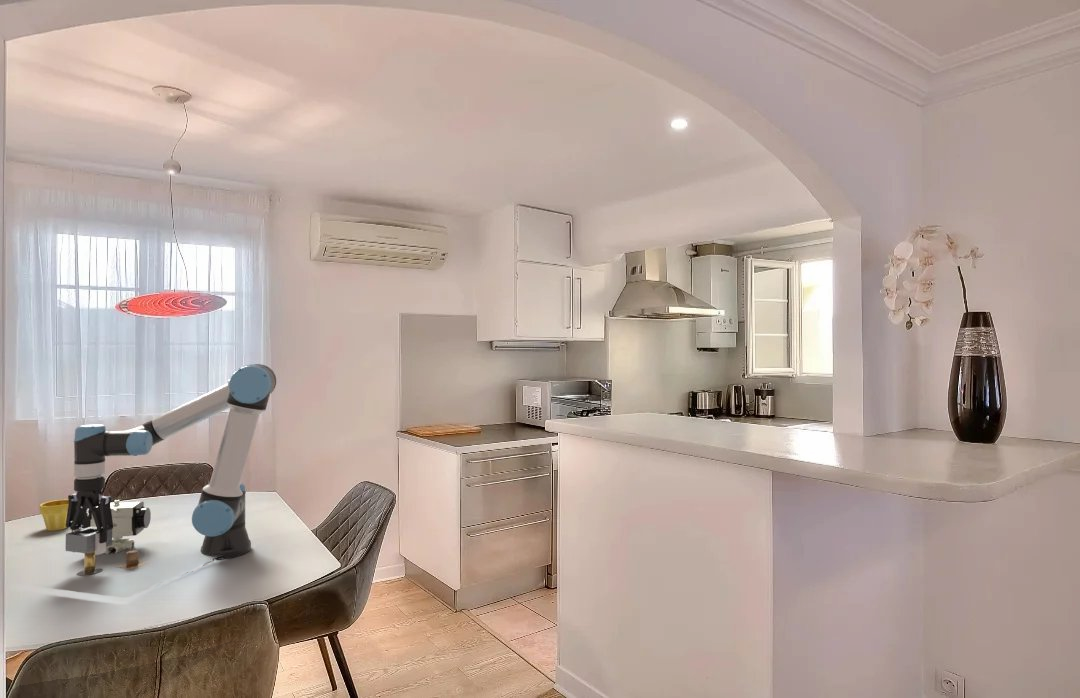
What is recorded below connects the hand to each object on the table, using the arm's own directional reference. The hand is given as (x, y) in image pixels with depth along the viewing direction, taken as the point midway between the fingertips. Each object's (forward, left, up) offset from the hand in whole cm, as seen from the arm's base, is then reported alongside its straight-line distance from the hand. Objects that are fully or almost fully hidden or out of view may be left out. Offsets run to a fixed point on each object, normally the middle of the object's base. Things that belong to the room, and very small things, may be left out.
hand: (89, 552), depth 184 cm
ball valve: (+11, -18, -8) cm, 22 cm away
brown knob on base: (-7, -8, -7) cm, 13 cm away
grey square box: (0, 0, +1) cm, 1 cm away
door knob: (0, 0, -7) cm, 7 cm away
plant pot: (+59, -35, -8) cm, 69 cm away
